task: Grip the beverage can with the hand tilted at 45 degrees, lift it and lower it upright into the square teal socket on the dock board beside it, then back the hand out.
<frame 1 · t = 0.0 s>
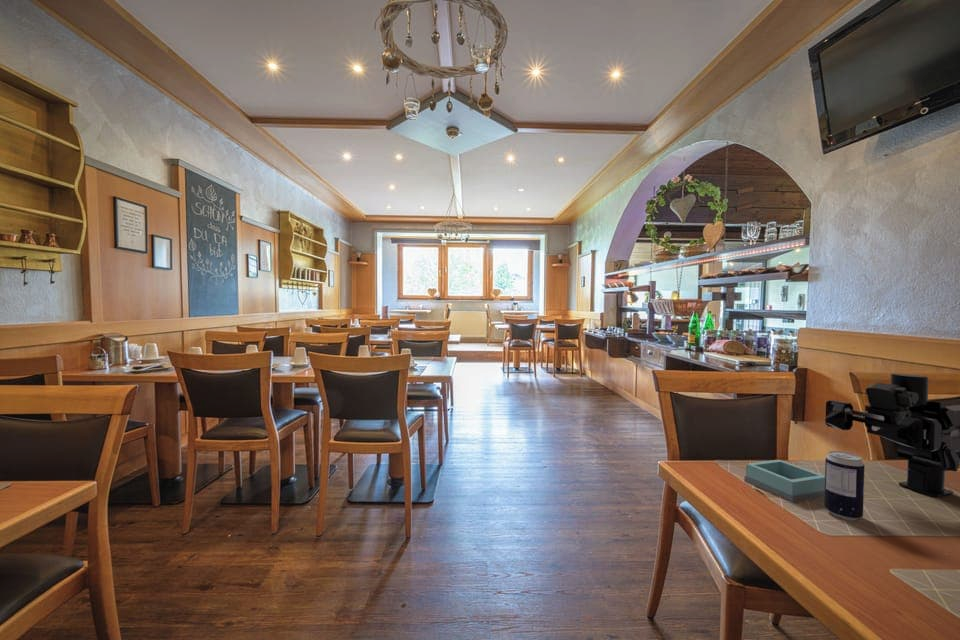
hand: (850, 425, 83), 17 cm above the table, tool horizontal, fingers open, 9 cm apart
can dock: (785, 488, 90), on the table
beverage can: (842, 515, 78), on the table
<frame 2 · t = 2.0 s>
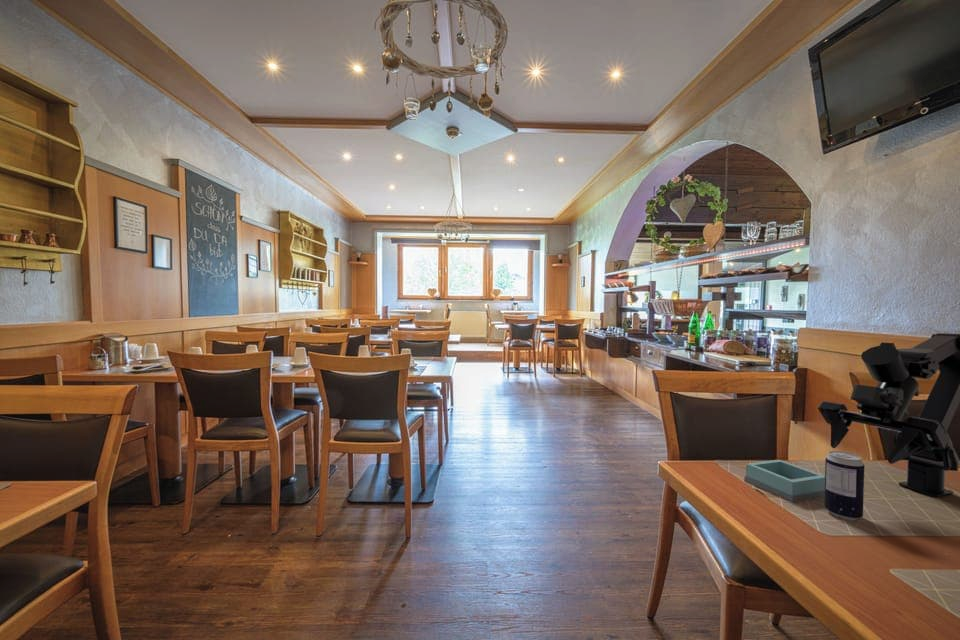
hand: (859, 454, 80), 12 cm above the table, tool tilted 45°, fingers open, 9 cm apart
nothing on the table moved.
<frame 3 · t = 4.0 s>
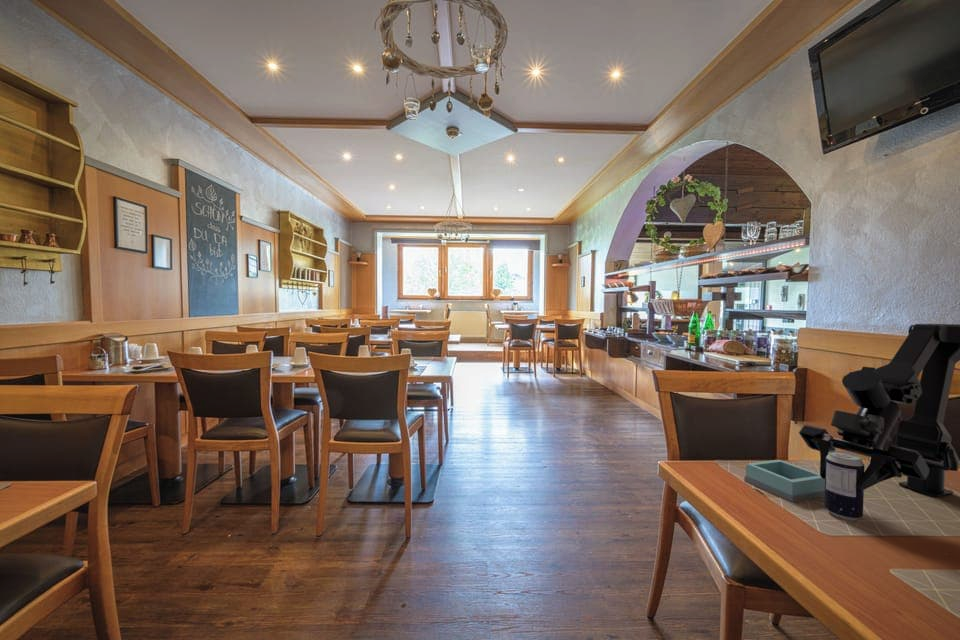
hand: (839, 483, 78), 7 cm above the table, tool tilted 45°, fingers closed on beverage can, 6 cm apart
beverage can: (842, 515, 78), on the table, touching gripper
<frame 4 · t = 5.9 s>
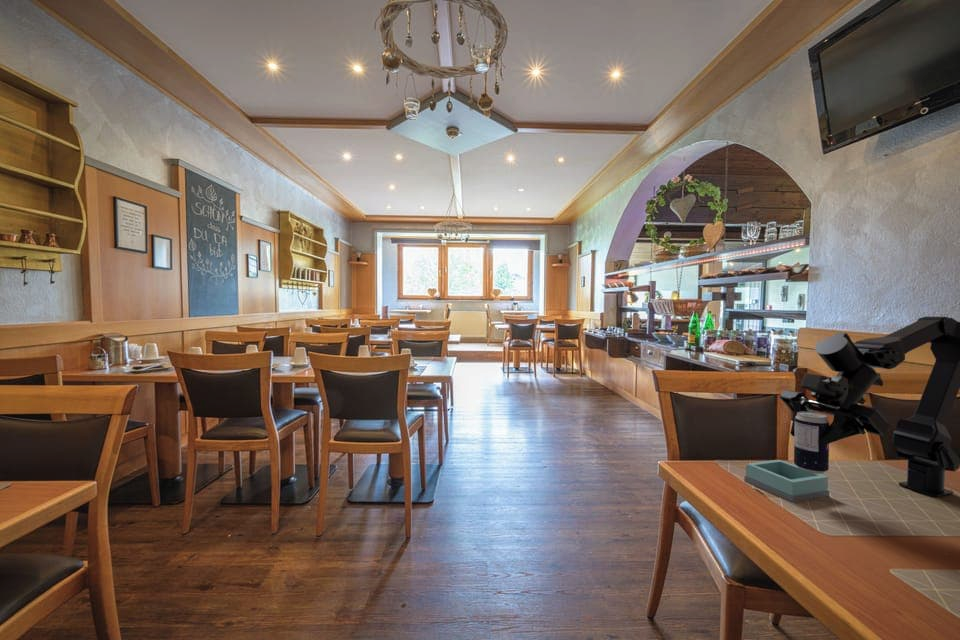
hand: (805, 439, 84), 13 cm above the table, tool tilted 45°, fingers closed on beverage can, 6 cm apart
beverage can: (810, 470, 84), point 6 cm above the table, touching gripper
when the fingers open (9 cm above the table, at t = 7.8 s): beverage can stays where it is, resting on can dock.
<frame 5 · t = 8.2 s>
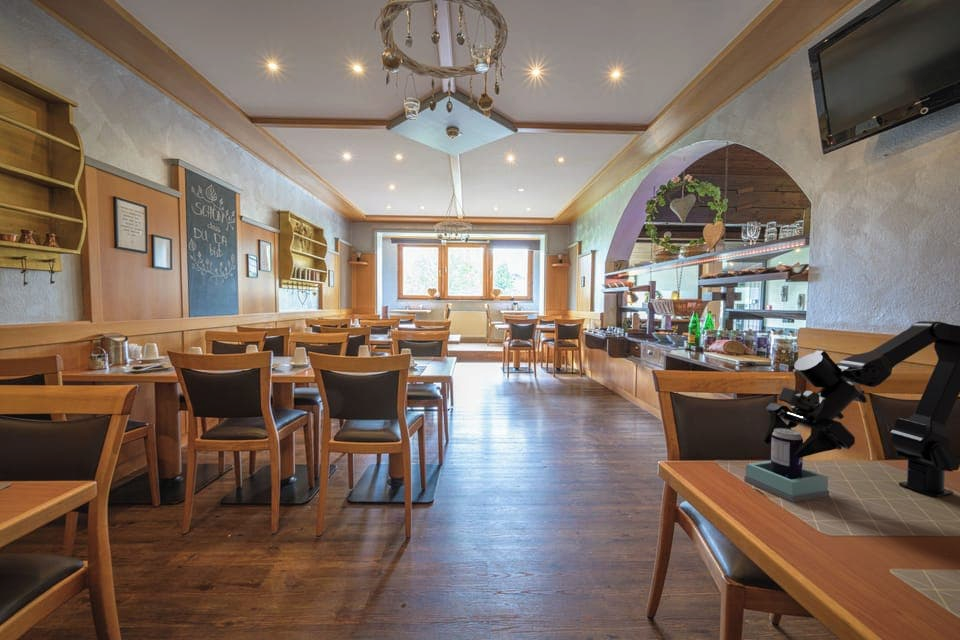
hand: (780, 449, 90), 9 cm above the table, tool tilted 45°, fingers open, 9 cm apart
beverage can: (785, 483, 90), point 1 cm above the table, touching can dock
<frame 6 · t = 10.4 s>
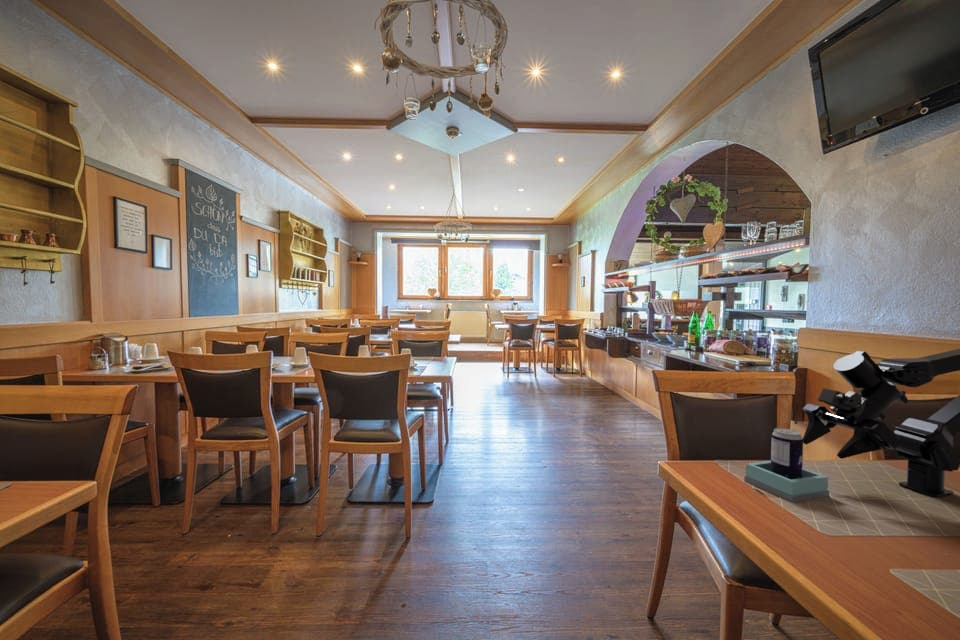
hand: (820, 449, 90), 9 cm above the table, tool tilted 45°, fingers open, 9 cm apart
nothing on the table moved.
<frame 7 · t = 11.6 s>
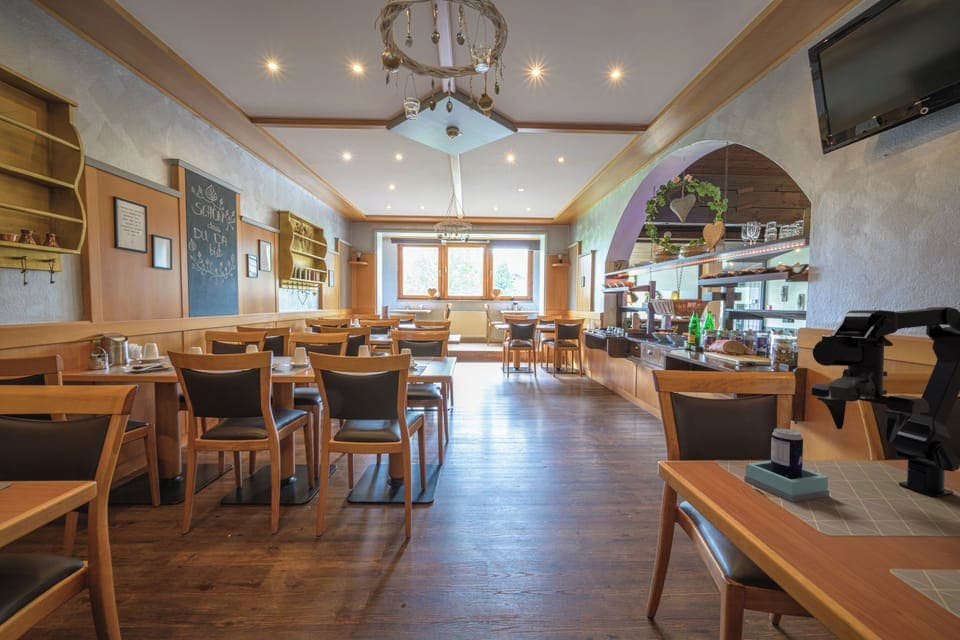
hand: (863, 434, 88), 13 cm above the table, tool pointing down, fingers open, 9 cm apart
nothing on the table moved.
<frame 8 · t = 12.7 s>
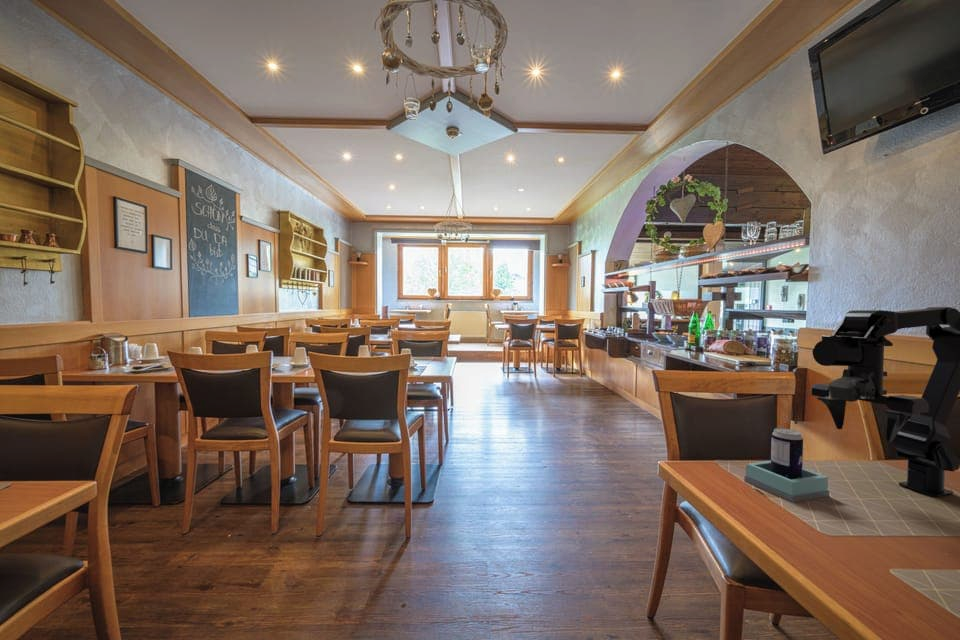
hand: (863, 435, 88), 13 cm above the table, tool pointing down, fingers open, 9 cm apart
nothing on the table moved.
at the end: beverage can 0.1 cm off-centre on the can dock, point 1.0 cm above the can dock's base; beverage can tilted 0°; the gripper is holding nothing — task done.
